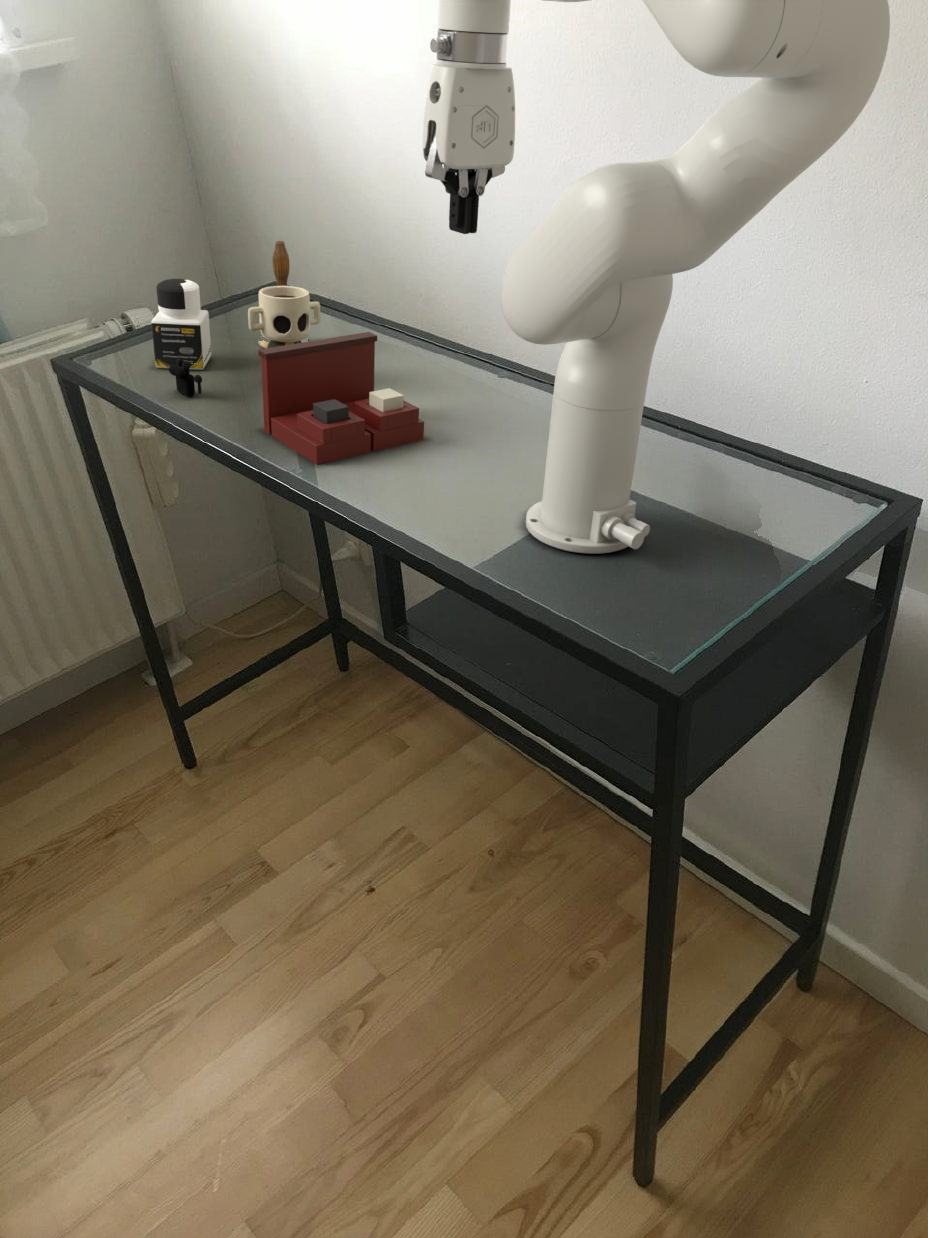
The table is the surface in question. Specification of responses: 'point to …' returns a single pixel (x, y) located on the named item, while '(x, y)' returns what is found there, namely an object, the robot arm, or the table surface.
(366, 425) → the red white-inset block
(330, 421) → the ebony key
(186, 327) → the medicine bottle
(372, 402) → the ivory key
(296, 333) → the character mug
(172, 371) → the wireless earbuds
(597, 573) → the table surface
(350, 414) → the red grey-inset block
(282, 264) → the hand bell
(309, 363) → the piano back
